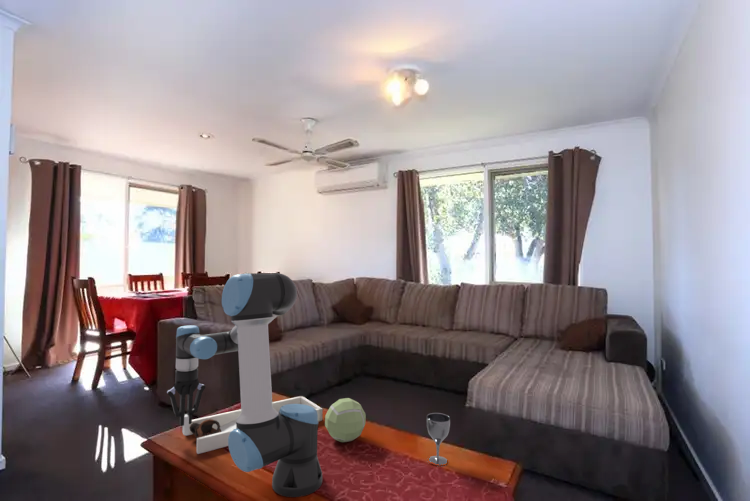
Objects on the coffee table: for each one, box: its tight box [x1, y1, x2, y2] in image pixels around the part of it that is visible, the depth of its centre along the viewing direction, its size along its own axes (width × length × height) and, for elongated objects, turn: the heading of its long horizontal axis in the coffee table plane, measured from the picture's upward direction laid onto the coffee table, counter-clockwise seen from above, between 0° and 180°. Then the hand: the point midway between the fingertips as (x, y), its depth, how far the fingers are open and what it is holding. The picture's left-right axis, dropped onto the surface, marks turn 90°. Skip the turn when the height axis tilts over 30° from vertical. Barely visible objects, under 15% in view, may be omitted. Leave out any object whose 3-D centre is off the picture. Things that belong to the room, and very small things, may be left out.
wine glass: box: [426, 412, 451, 465], centre depth 138 cm, size 8×8×15 cm
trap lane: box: [184, 395, 324, 455], centre depth 163 cm, size 19×50×7 cm, turn 128°
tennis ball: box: [324, 397, 367, 443], centre depth 153 cm, size 15×15×15 cm
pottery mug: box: [190, 419, 221, 438], centre depth 151 cm, size 12×10×8 cm
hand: (185, 433), depth 146 cm, fingers closed
